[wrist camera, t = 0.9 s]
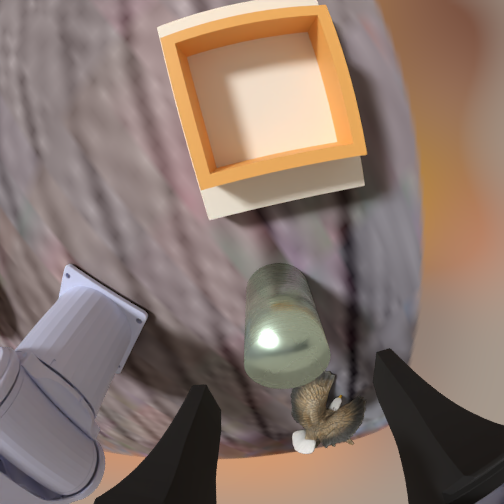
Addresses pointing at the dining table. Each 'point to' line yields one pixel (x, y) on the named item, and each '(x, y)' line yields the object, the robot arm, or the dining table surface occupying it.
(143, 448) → the dining table surface
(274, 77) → the orange and cream box
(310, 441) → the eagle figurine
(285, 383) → the green can
